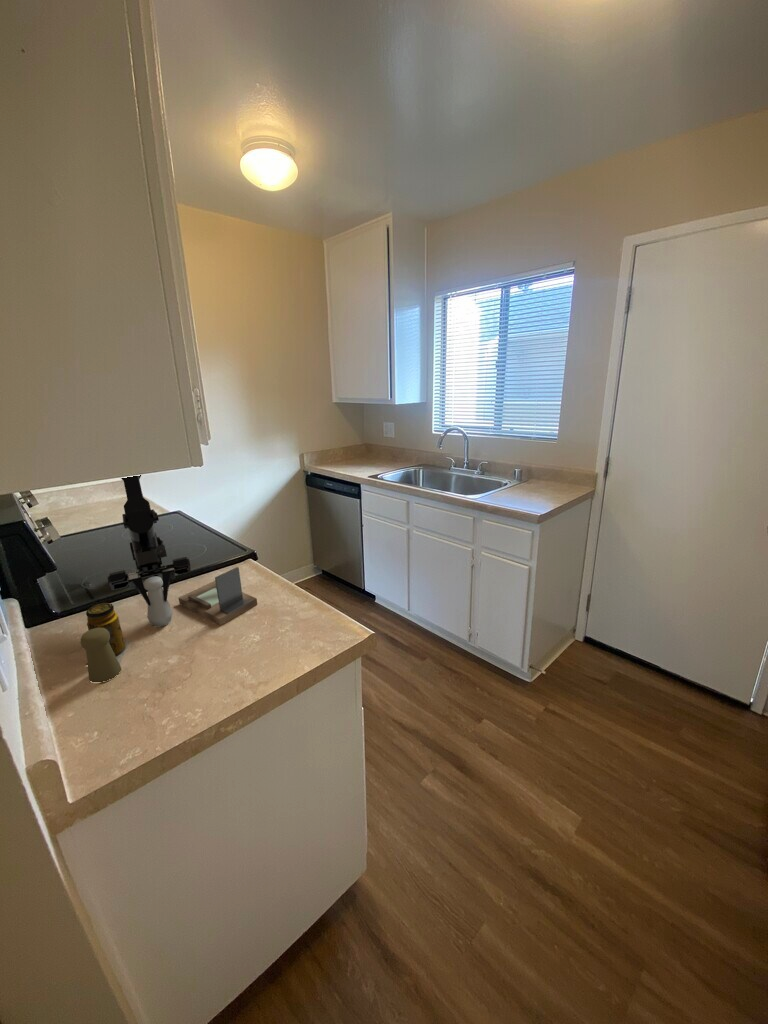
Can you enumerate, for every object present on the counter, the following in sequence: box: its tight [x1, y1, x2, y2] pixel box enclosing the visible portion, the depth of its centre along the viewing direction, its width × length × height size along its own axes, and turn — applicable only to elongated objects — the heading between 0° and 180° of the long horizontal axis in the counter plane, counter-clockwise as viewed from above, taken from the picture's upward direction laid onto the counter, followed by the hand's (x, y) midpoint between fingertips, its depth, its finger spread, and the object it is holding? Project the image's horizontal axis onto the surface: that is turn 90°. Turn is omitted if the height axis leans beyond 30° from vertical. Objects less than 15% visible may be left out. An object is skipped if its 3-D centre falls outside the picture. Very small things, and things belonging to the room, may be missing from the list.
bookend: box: [214, 566, 250, 614], centre depth 111 cm, size 3×7×10 cm, turn 146°
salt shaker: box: [143, 575, 173, 628], centre depth 107 cm, size 6×6×13 cm
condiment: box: [85, 602, 132, 665], centre depth 95 cm, size 7×8×12 cm
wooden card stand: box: [178, 580, 258, 626], centre depth 117 cm, size 19×12×3 cm, turn 56°
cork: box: [79, 628, 122, 682], centre depth 89 cm, size 6×6×11 cm
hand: (157, 603), depth 105 cm, fingers closed on salt shaker, 3 cm apart
